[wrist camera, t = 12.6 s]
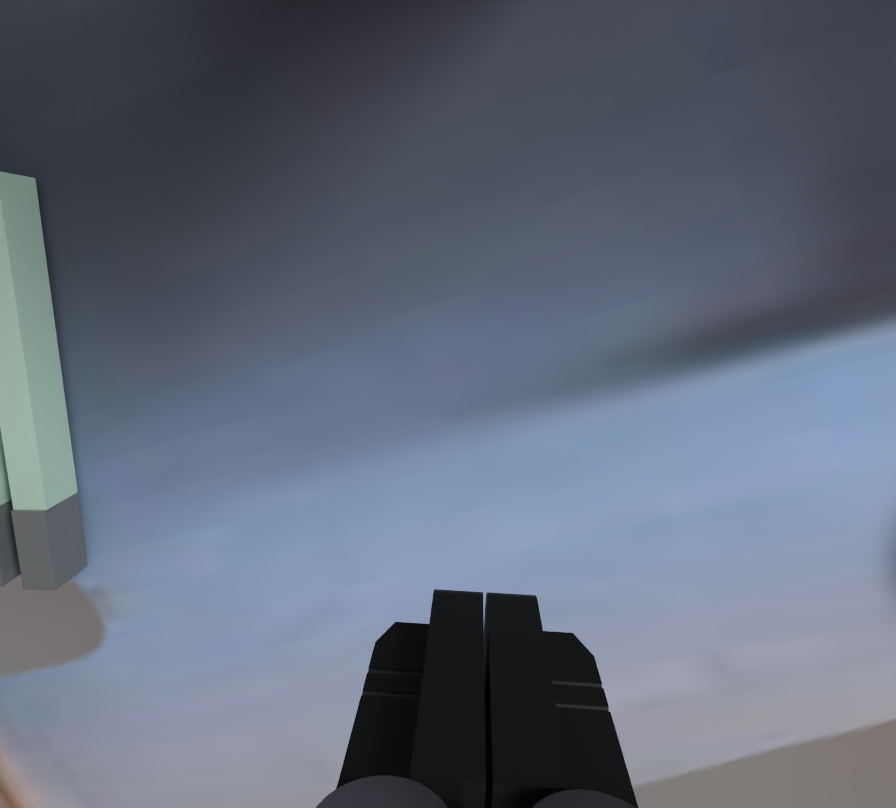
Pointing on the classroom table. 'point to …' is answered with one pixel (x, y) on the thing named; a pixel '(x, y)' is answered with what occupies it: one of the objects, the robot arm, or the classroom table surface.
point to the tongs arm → (34, 400)
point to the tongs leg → (6, 527)
